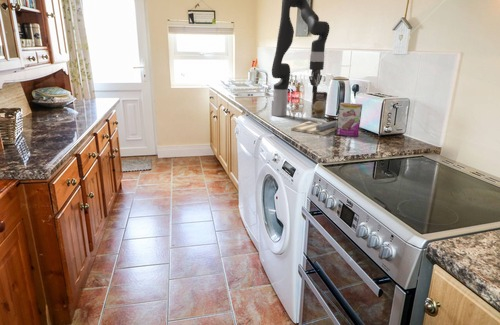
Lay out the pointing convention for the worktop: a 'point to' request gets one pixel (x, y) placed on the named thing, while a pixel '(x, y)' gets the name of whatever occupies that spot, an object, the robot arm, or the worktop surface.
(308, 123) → the striped wooden cutting board
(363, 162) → the worktop surface
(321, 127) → the swing bar
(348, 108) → the candy bar box
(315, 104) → the coffee box
